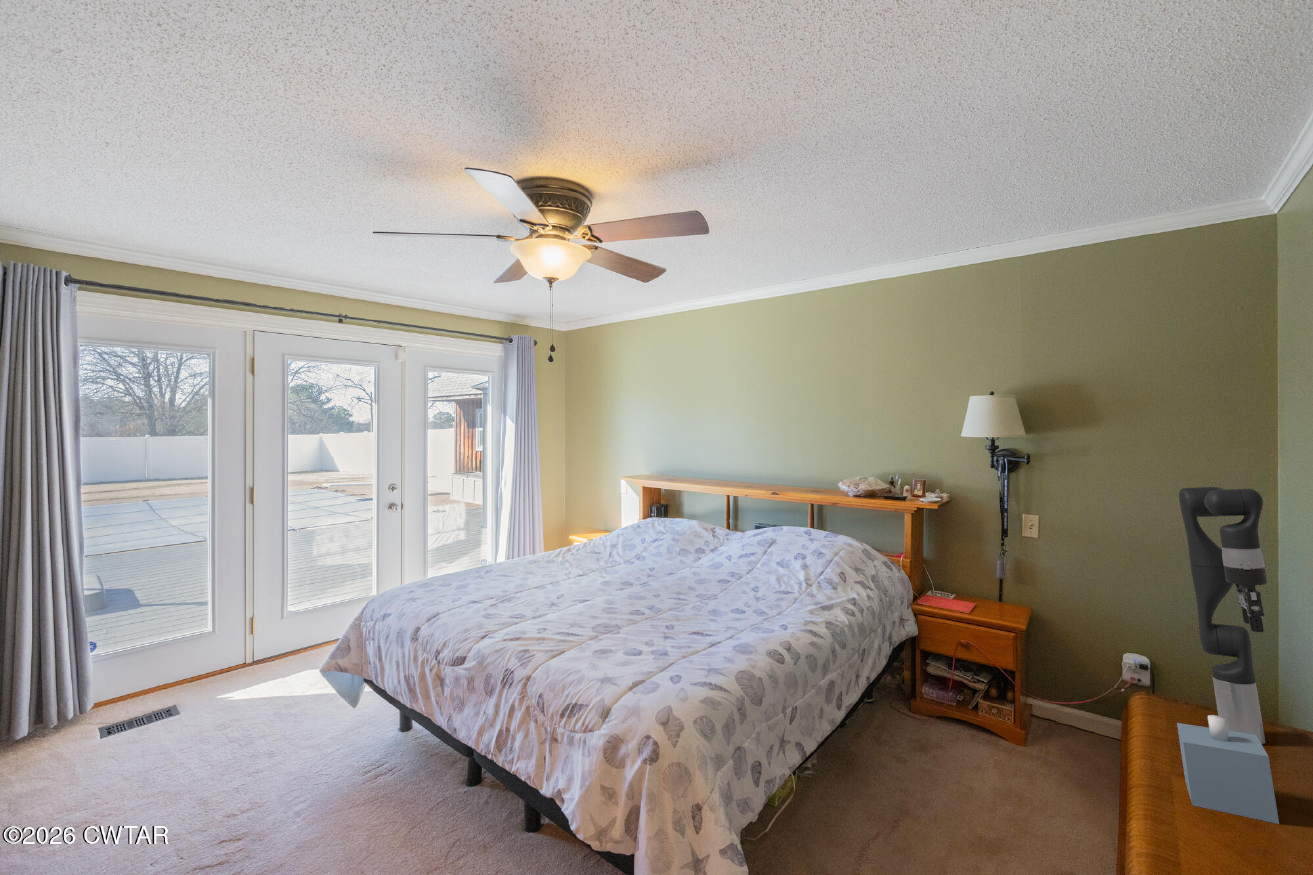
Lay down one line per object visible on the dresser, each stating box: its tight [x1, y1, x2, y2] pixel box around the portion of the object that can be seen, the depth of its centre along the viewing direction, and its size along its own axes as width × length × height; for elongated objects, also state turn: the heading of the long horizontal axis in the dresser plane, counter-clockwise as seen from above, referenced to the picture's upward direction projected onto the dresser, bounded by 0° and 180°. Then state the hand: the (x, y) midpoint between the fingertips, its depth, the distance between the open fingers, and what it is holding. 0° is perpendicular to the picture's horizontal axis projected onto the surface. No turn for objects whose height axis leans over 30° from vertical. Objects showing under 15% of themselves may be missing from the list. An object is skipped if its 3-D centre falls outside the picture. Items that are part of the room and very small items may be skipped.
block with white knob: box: [1176, 714, 1280, 825], centre depth 138 cm, size 13×15×20 cm
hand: (1253, 627), depth 145 cm, fingers open, 8 cm apart
